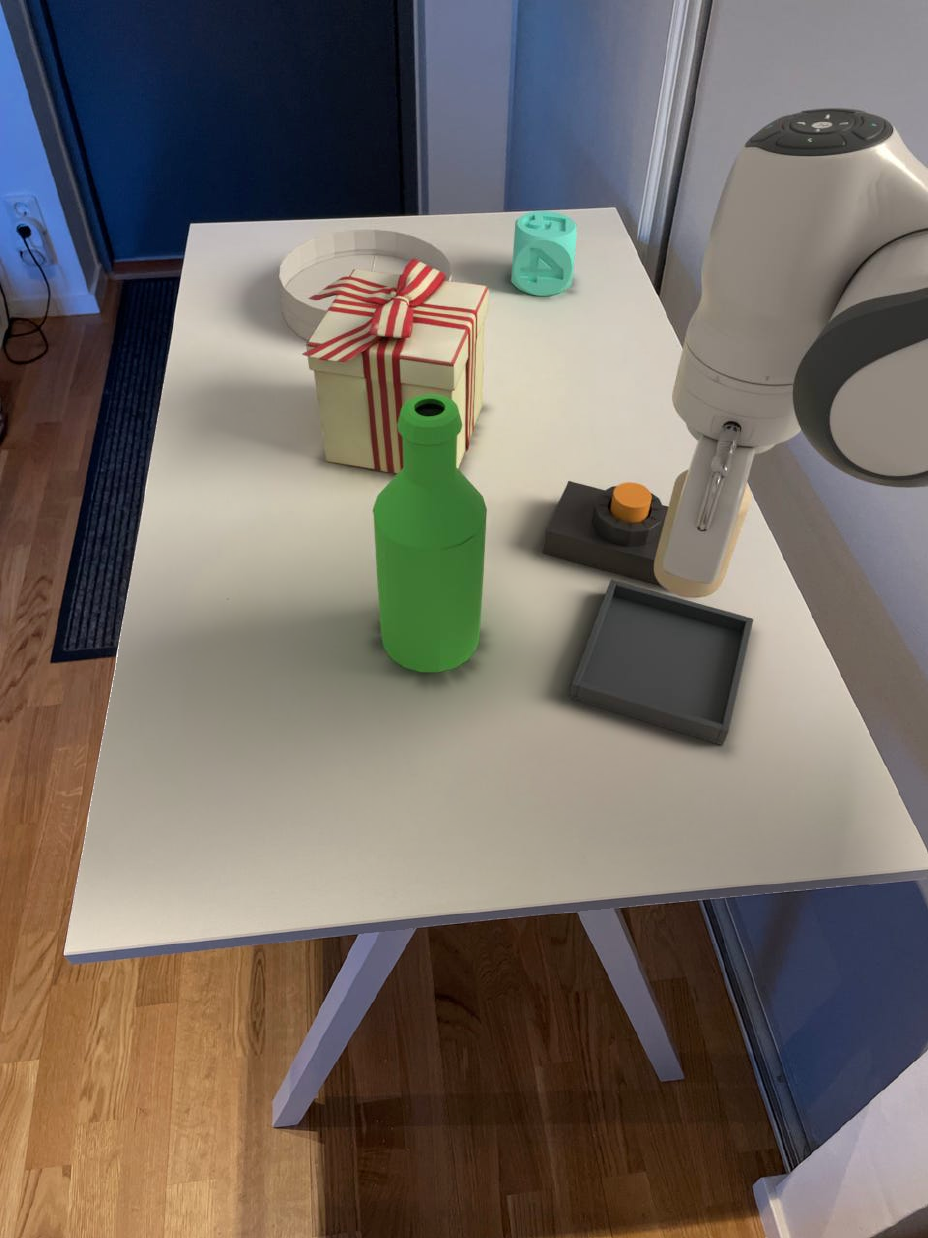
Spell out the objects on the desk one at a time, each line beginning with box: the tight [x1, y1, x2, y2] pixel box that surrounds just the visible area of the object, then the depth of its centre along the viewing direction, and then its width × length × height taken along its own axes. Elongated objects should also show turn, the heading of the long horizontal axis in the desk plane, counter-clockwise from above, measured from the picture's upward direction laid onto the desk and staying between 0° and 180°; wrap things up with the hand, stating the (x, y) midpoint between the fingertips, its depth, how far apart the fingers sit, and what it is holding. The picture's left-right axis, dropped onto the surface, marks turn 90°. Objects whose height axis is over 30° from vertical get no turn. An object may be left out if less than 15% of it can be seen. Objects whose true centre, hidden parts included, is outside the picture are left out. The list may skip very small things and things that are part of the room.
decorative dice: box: [510, 210, 578, 297], centre depth 122 cm, size 8×8×8 cm
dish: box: [278, 229, 452, 341], centre depth 118 cm, size 22×22×5 cm
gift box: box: [301, 259, 490, 474], centre depth 96 cm, size 17×18×17 cm
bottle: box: [372, 394, 488, 673], centre depth 73 cm, size 9×9×25 cm
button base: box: [542, 480, 669, 587], centre depth 89 cm, size 14×8×5 cm, turn 69°
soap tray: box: [568, 579, 754, 746], centre depth 81 cm, size 13×13×2 cm
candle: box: [654, 468, 752, 599], centre depth 69 cm, size 6×6×10 cm
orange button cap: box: [610, 481, 652, 523], centre depth 87 cm, size 4×4×2 cm
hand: (698, 539), depth 70 cm, fingers closed on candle, 5 cm apart
